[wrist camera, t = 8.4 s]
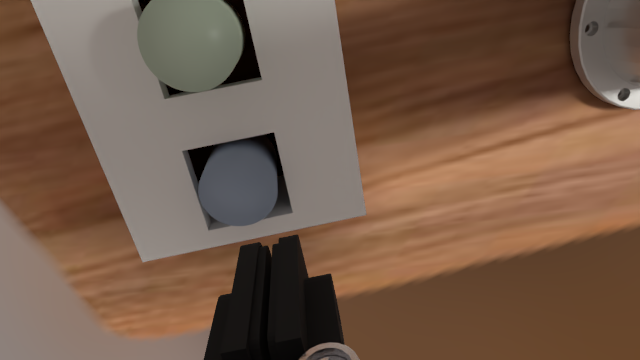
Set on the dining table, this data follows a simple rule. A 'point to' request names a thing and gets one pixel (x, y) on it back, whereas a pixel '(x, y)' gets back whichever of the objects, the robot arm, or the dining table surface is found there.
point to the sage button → (191, 42)
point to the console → (211, 120)
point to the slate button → (240, 181)
